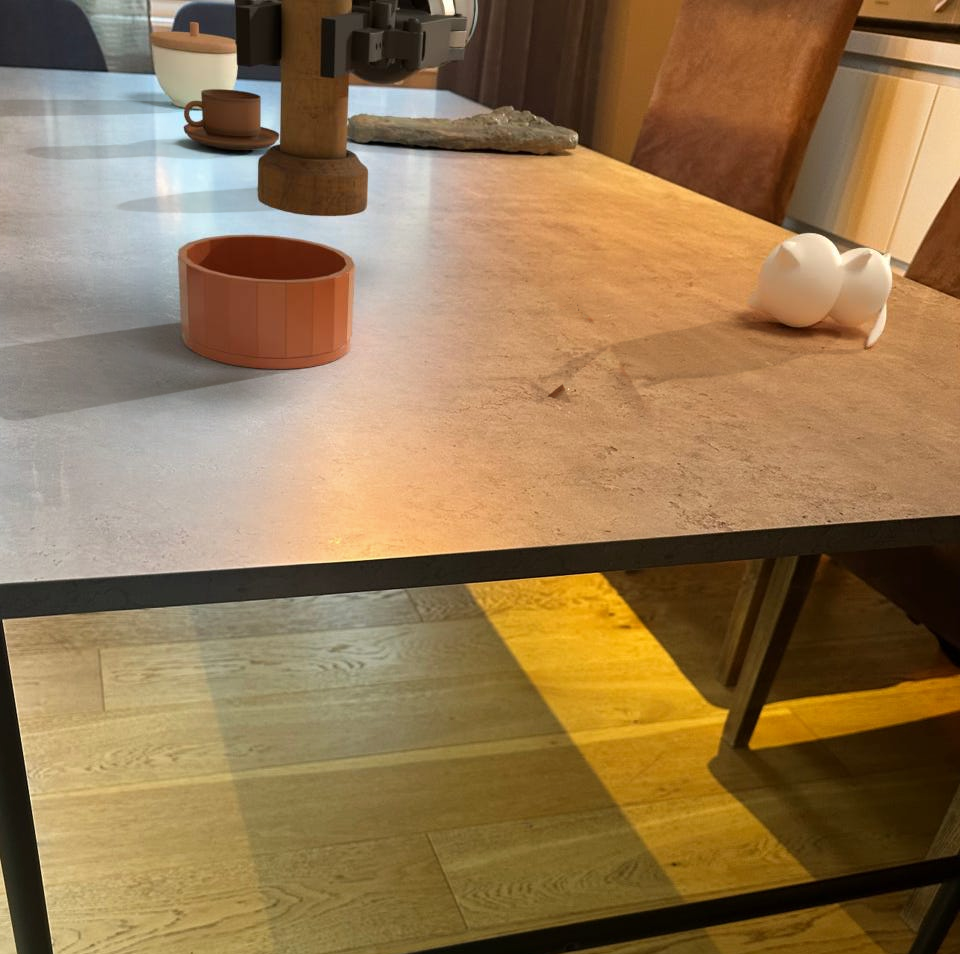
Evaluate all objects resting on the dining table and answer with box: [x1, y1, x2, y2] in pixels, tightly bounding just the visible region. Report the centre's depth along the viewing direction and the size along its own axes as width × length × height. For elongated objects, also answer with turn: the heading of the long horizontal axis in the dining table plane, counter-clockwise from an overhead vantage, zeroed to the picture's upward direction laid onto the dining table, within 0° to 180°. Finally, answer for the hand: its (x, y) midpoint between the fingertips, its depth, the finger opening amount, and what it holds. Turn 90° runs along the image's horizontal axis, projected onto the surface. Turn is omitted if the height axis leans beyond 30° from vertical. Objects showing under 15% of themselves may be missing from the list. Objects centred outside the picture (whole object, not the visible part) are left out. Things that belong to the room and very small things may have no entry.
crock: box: [177, 234, 356, 370], centre depth 78 cm, size 12×12×6 cm
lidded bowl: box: [149, 21, 239, 111], centre depth 161 cm, size 13×13×11 cm
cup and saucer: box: [183, 89, 280, 151], centre depth 139 cm, size 12×12×6 cm
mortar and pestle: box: [257, 0, 369, 217], centre depth 61 cm, size 7×6×18 cm
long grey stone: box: [347, 105, 579, 156], centre depth 157 cm, size 35×5×10 cm
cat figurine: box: [746, 232, 893, 348], centre depth 95 cm, size 9×11×12 cm
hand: (285, 42), depth 57 cm, fingers closed on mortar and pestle, 4 cm apart
